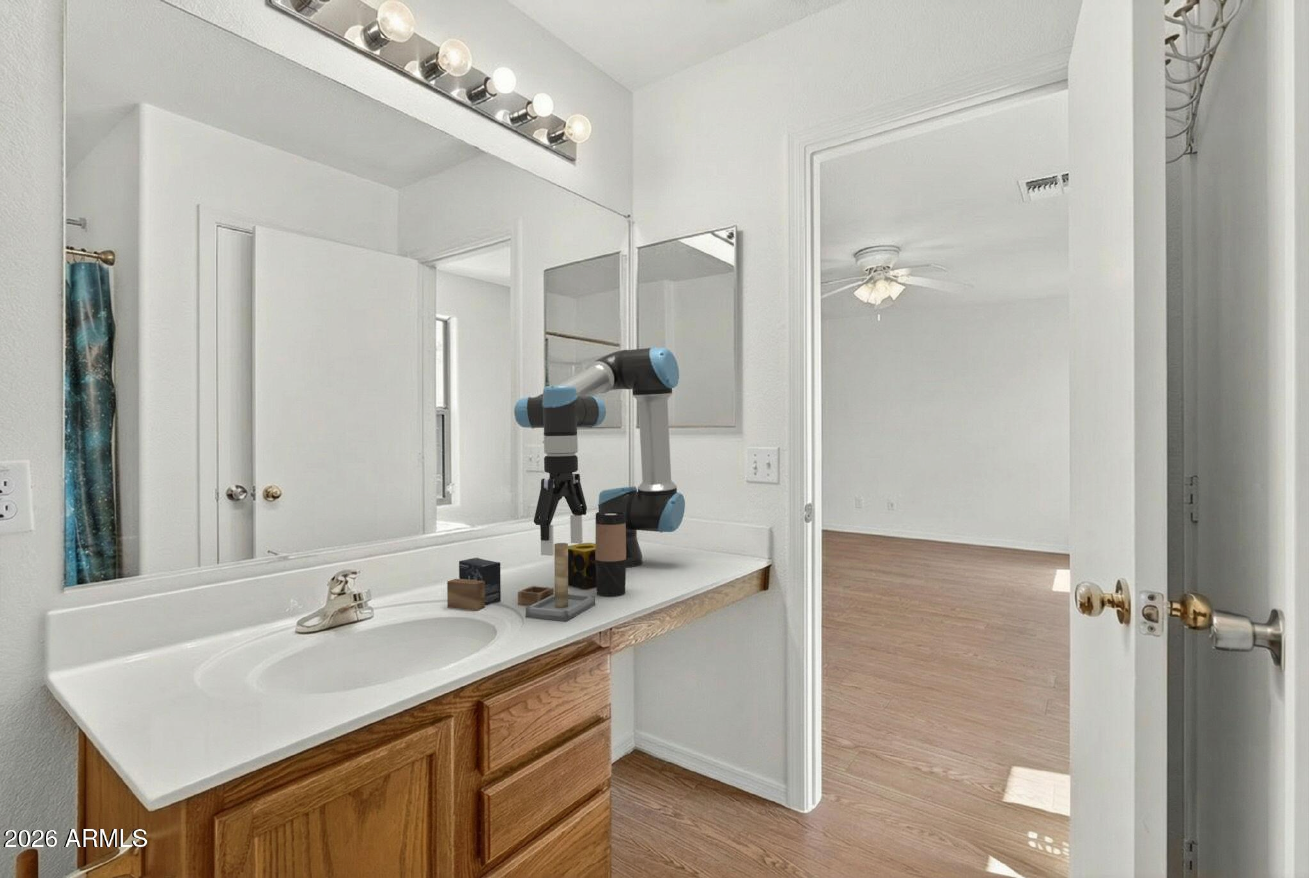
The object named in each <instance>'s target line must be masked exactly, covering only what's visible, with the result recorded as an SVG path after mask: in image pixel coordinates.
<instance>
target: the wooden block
mask: <svg viewBox="0 0 1309 878" xmlns="http://www.w3.org/2000/svg"><path fill="white" fill-rule="evenodd" d="M446 585H447V586H446V589H447V590H446V591H447V592H446V593H447V594H446V595H447V597H446V598H447V599H446V601H447V608H448V609H458V610H467V611H473V612H475V611H476V612H478V611H480V610H482V609H484V608H485V607H486V605H485V581H476V580H466V579H459V578H454V579H453V578H452V579H450V580H447V581H446Z"/></svg>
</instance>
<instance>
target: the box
mask: <svg viewBox="0 0 1309 878" xmlns="http://www.w3.org/2000/svg"><path fill="white" fill-rule="evenodd" d="M458 579H466V580H476V581H485V606H488V605H491V604H494V603H495V604H496V603H499V602H501V599H502V597H501V595H502V594H501V592H502V590H501V589H502V588H501V583H502V582H501V562H499V561H492V560H487V559H483V558H480V557H473V558H468V559H467V558H466V559H464V560H463V559H462V560H459V561H458Z"/></svg>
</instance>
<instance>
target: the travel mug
mask: <svg viewBox="0 0 1309 878" xmlns="http://www.w3.org/2000/svg"><path fill="white" fill-rule="evenodd" d="M595 559H596V560H595V562H596V594H597V595H598V596H600V597H606V598H607V597H620V596H623V595H625V594H626V580H627V579H626V576H627V575H626V574H627V573H626V572H627V567H626V514H625V512H619V511H609V512H607V513H606V514H600V512H599V511H598V512H595Z"/></svg>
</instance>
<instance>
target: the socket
mask: <svg viewBox="0 0 1309 878" xmlns="http://www.w3.org/2000/svg"><path fill="white" fill-rule="evenodd" d="M553 594H555V587H547V586H537V585H534V586H533V585H531V586H529V587H526V588H524V589H522V590H519V591H518V592H517V605H518V606H519V605H520V606H526V607H528V606H530V605H533V604H535V603H537V602H539V601H541V600H543V599H545V598H547V597H549V596H551V595H553Z"/></svg>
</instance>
